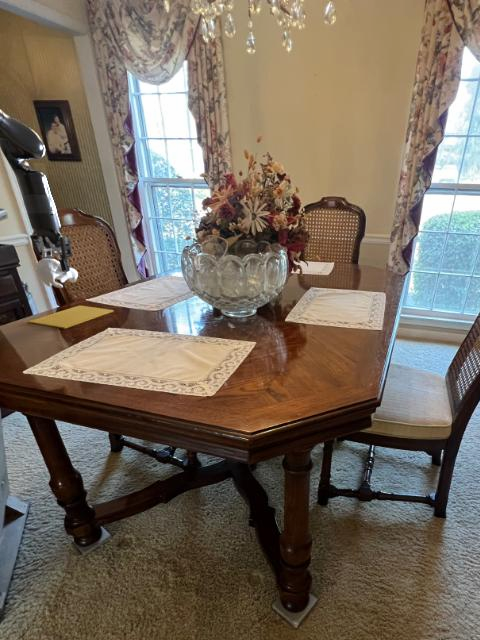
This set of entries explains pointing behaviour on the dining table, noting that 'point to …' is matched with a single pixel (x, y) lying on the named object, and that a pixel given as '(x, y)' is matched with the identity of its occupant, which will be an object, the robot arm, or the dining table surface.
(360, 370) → the dining table surface
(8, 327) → the dining table surface
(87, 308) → the cloth
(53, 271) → the white animal figurine
